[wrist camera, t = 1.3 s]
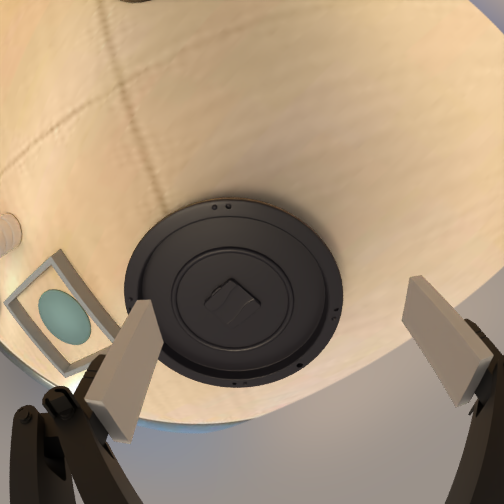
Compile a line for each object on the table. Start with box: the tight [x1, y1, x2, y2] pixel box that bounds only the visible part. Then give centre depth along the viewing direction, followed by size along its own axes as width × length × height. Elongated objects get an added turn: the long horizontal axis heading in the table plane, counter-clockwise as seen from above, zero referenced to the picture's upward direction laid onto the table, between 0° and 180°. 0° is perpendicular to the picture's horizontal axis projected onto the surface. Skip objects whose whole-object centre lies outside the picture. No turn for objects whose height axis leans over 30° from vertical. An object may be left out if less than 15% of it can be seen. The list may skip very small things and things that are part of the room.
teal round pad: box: [38, 290, 91, 345], centre depth 46 cm, size 12×12×1 cm
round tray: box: [124, 197, 343, 388], centre depth 42 cm, size 30×6×30 cm
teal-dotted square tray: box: [3, 249, 120, 378], centre depth 45 cm, size 20×20×3 cm
